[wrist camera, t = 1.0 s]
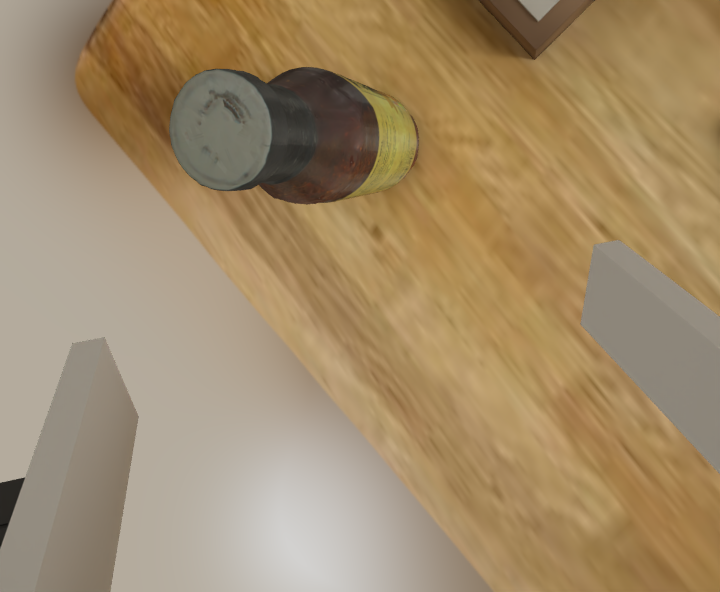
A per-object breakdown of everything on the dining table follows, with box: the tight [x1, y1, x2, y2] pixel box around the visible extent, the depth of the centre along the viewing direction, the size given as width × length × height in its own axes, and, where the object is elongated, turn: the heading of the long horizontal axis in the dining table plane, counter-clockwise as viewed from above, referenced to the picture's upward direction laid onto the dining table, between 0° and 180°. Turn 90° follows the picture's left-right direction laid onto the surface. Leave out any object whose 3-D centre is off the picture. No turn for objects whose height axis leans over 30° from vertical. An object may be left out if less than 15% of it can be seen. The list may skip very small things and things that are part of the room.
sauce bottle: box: [169, 67, 419, 204], centre depth 28 cm, size 6×6×20 cm
